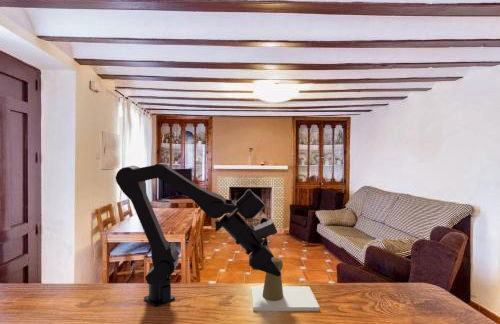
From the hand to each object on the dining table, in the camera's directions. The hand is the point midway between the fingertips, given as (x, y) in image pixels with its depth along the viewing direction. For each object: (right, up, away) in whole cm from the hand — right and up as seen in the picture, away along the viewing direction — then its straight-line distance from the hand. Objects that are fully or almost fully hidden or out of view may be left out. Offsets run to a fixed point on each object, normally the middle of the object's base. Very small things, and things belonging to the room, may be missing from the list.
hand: (278, 268), depth 96 cm
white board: (+2, -9, +1) cm, 9 cm away
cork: (-1, -8, 0) cm, 8 cm away
